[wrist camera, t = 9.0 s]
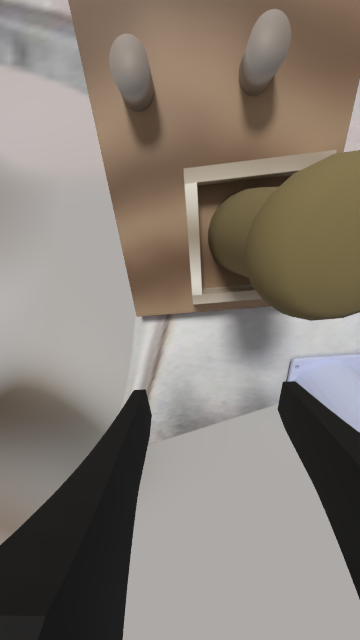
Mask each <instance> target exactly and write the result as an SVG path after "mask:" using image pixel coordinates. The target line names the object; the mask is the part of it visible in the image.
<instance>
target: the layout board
mask: <svg viewBox="0 0 360 640" xmlns="http://www.w3.org/2000/svg"><path fill="white" fill-rule="evenodd" d="M68 1H69V5H70V10H71V15H72V19H73V24H74V28H75V33H76V38H77V42H78V47H79V52H80V56H81V61H82V65H83V70H84V75H85V79H86V84H87V88H88V93H89V98H90V102H91V106H92V111H93V116H94V121H95V125H96V130H97V135H98V139H99V144H100V148H101V153H102V158H103V162H104V167H105V171H106V176H107V181H108V186H109V190H110V195H111V199H112V204H113V209H114V213H115V218H116V222H117V227H118V232H119V236H120V241H121V245H122V250H123V254H124V259H125V264H126V268H127V273H128V278H129V282H130V287H131V292H132V296H133V301H134V306H135V310H136V315H137V317H139V316H152V315H165V314H177V313H190V312H203V311H215V310H228V309H241V308H254V307H266V306H270V305H268V304H267V303H266V302H265V301H264V300H263V299H262V298H261V297H260V295H259V294H258V293H257V291H256V290H255V289H254V287H253V286H252V285H251V282H250V279H249V278H247V277H245V276H242V275H239V274H237V273H234V272H231V271H229V270H227V269H225V268H224V267H222V266H221V265H219V264H218V263H217V261H216V260H215V259H214V257H213V256H212V254H211V251H210V248H209V245H208V229H209V225H210V221H211V218H212V216H213V214H214V213H215V211H216V209H217V207H218V206H219V205H220V204H221V203H222V202H223V201H224V200H225V199H226V198H227V197H228V196H229V195H231V194H233V193H235V192H237V191H239V190H241V189H247V188H256V187H279V186H280V185H282V184H283V183H284V182H285V181H286V180H287V179H288V178H289V177H291V176H292V175H293V174H294V173H296V172H298V171H300V170H302V169H304V168H306V167H308V166H310V165H312V164H314V163H316V162H318V161H321V160H323V159H325V158H327V157H329V156H331V155H333V154H336V153H343V151H344V147H345V142H346V138H347V133H348V129H349V124H350V120H351V115H352V111H353V106H354V102H355V97H356V93H357V88H358V84H359V79H360V0H68Z"/></svg>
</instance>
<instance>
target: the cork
mask: <svg viewBox="0 0 360 640" xmlns="http://www.w3.org/2000/svg"><path fill="white" fill-rule="evenodd" d="M208 245H209V248H210V251H211V254H212V256H213V257H214V259H215V260H216V261H217V263H218V264H219V265H221V266H222V267H224V268H225V269H227V270H229V271H231V272H234V273H237V274H239V275H242V276H245V277H247V278H249V279H250V282H251V285H252V286H253V287H254V289H255V290H256V291H257V293H258V294H259V295H260V297H261V298H262V299H263V300H264V301H265V302H266V303H267V304H268V305H270V306H272V307H273V308H275V309H277V310H278V311H280V312H281V313H283V314H286V315H289V316H292V317H297V318H301V319H306V320H323V319H335V318H344V317H347V316H350V315H353V314H356V313H359V312H360V150H359V151H351V152H344V153H336V154H333V155H331V156H329V157H327V158H325V159H323V160H321V161H318V162H316V163H314V164H312V165H310V166H308V167H306V168H304V169H302V170H300V171H298V172H296V173H294V174H293V175H292V176H291V177H289V178H288V179H287V180H286V181H285V182H284V183H283V184H282V185H280V186H279V187H256V188H247V189H241V190H239V191H237V192H235V193H233V194H231V195H229V196H228V197H227V198H226V199H225V200H224V201H223V202H222V203H221V204H220V205H219V206H218V207H217V209H216V211H215V213H214V214H213V216H212V218H211V221H210V225H209V229H208Z"/></svg>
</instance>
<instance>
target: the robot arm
mask: <svg viewBox="0 0 360 640" xmlns="http://www.w3.org/2000/svg"><path fill="white" fill-rule="evenodd" d="M296 365H297V366H296ZM278 411H279V414H280V417H281V419H282V422H283V425H284V427H285V429H286V432H287V434H288V435H289V437H290V440H291V441H292V443H293V445H294V447H295V449H296V451H297V453H298V455H299V457H300V459H301V461H302V463H303V465H304V467H305V469H306V470H307V472H308V474H309V476H310V478H311V480H312V482H313V484H314V487H315V489H316V491H317V493H318V495H319V498H320V500H321V502H322V505H323V507H324V509H325V511H326V514H327V517H328V519H329V521H330V523H331V526H332V529H333V531H334V534H335V536H336V539H337V541H338V544H339V546H340V549H341V551H342V554H343V556H344V559H345V562H346V564H347V567H348V569H349V572H350V574H351V577H352V580H353V583H354V585H355V588H356V590H357V593H358V596H359V598H360V354H351V355H335V356H319V357H303V358H294V359H293V360H292V361H291V364H290V369H289V374H288V379H287V382H283V384H282V389H281V395H280V400H279V405H278ZM151 417H152V415H151V410H150V406H149V402H148V398H147V394H146V390H134V391H133V392H132V394H131V396H130V397H129V399H128V400H127V402H126V404H125V405H124V407H123V408H122V410H121V411H120V413H119V414H118V416H117V417H116V419H115V420H114V422H113V423H112V424H111V426H110V427H109V429H108V430H107V432H106V433H105V434H104V435H103V437H102V438H101V439H100V441H99V442H98V443H97V445H96V446H95V447H94V449H93V450H92V451H91V452H90V454H89V455H88V456H87V457H86V458H85V460H84V461H83V462H82V463H81V464H80V466H79V467H78V468H77V469H76V470H75V471H74V472H73V473H72V475H71V476H70V477H69V478H68V479H67V480H66V481H65V482H64V483H63V484H62V486H61V487H60V488H59V489H58V490H57V491H56V492H55V493H54V494H53V495H52V496H51V497H50V498H49V499H48V500H47V501H46V502H45V503H44V504H43V505H42V506H41V507H40V508H39V509H38V510H37V511H36V512H35V513H34V514H33V515H32V516H31V517H30V518H29V519H28V520H27V521H26V522H25V523H24V524H23V525H22V526H21V527H20V528H19V529H18V530H17V531H15V532H14V533H13V534H12V535H11V536H10V537H9V538H8V539H7V540H6V541H4V542H3V543H2V544H1V545H0V640H122V638H123V627H124V616H125V604H126V593H127V583H128V574H129V564H130V554H131V546H132V537H133V528H134V520H135V511H136V503H137V497H138V491H139V485H140V480H141V475H142V470H143V466H144V461H145V455H146V451H147V446H148V441H149V436H150V427H151Z"/></svg>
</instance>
